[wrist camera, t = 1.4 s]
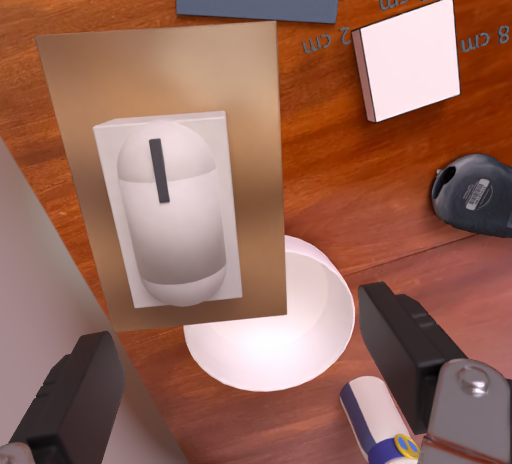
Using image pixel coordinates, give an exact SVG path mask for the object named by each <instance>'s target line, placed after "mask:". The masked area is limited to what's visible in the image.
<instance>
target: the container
mask: <svg viewBox="0 0 512 464" xmlns="http://www.w3.org/2000/svg"><path fill="white" fill-rule="evenodd" d="M420 1H426V0H420ZM405 2H407V0H404V1H403V2H400V3H399V4H404V3H405ZM379 4H380V8H381V10H383V11H384V10H386V9H388V7H389V8H392V7H394V6H397V5H398V1H397V0H394V4H393V5H391V4H390V0H387V7H386V8H384V7H383V2H382V0H379ZM348 28H349V26H347V27H344V28H342V29H339V31H342V30H345V31H344V33H343V35H342V38H341V42H342V44H344V45H347V44H349V43H350V42H351V40H349V41H348V42H345V41H344V36H345V34H346V32H347V30H348ZM502 28H505V33H504V34H502V33H501V29H502ZM508 31H509V27H508V26H502V27H500V28H499V29H498V31H497V34H498V35H499V36H500V37H499V39H498V42H499V43H505V42H507V41H508V38H509V36H508V35H507V33H508ZM351 33H352V38H353V44H354V49H355V55H356V60H357V65H358V71H359V76H360V82H361V87H362V93H363V98H364V104H365V109H366V115H367V120H368V121H369V122H372V123H379V122H382V121H385V120H388V119H390V118H393V117H396V116H399V115H402V114H405V113H408V112H411V111H414V110H417V109H420V108H423V107H426V106H429V105H432V104H435V103H438V102H441V101H444V100H447V99H450V98H453V97H456V96H459V95H461V88H460V75H459V62H458V50H457V37H456V24H455V11H454V0H438V1H435V2H432V3H429V4H426V5H424V6H421V7H418V8H415V9H412V10H409V11H406V12H404V13H401V14H398V15H395V16H392V17H389V18H386V19H384V20H381V21H378V22H375V23H372V24H369V25H366V26H363V27H361V28H358V29H355V30H353V31H351ZM482 35H484V36H485V42H484V43H483V44H480V45H479V46H484V45H486V44H487V43H488V41H489V35H488V34H487V33H481V34H479V37H480V36H482ZM324 36H325V37H327V39H328V44H327V45H326V46H323V48H325V47H328V46H329V45H330V42H331V39H330V36H329V35H328V34H324V35H322V36H320V37H321V38H322V37H324ZM503 36H504V37H505V40H504V41H502V37H503ZM316 40H317V45H318V46H317V48H316V49H314V47H313V43H312V39H310V40H309V42H310V46H311V50H310V51H307V49H306V44H305V41H304V42H302V43H303V47H304V51H305V52H306V53H310V52H311V51H312V50H313V51H317V50H318V48H319V49H321V46H320V42H319V37H316ZM467 41H468V48H467V49H466V50H465V48H464V40H462V41H461V50H462V52H467V51H468V50H469V49H470V50H473V49H475V48H478V35H476V36H474V41H475V45H474V47H472V46H471V38H467Z"/></svg>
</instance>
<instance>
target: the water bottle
mask: <svg viewBox="0 0 512 464" xmlns="http://www.w3.org/2000/svg"><path fill="white" fill-rule="evenodd" d="M340 402H341V404H342V406H343V409H344V411H345V413H346V415H347V418H348V420H349V422H350V425H351V427H352V430H353V432H354V435H355V438H356V440H357V443H358V445H359V448H360V450H361V452H362V454H363V456H364V458H365V459H366V460H367V461H368V463H369V464H417V463H418V458H419V453H420V449H419V447H418V446H417V444H416V443H415V442H414V441H413V440H412V439H411V438H410V435H409V433H408V431H407V429H406V427H405V425H404V423H403V421H402V419H401V417H400V415H399V413H398V411H397V409H396V407H395V405H394V403H393V400H392V398H391V396H390V394H389V392H388V389H387V387H386V385H385V383H384V382H383V381H382V380H381V379H379V378H377V377H373V376H363V377H359V378H356V379H354V380H352V381H350V382H349V383H347V384H346V385H345V386H344V388H343V389H342V391H341V393H340Z"/></svg>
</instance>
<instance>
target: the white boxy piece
mask: <svg viewBox="0 0 512 464" xmlns="http://www.w3.org/2000/svg"><path fill="white" fill-rule="evenodd" d="M93 132H94V137H95V141H96V145H97V149H98V154H99V158H100V162H101V166H102V171H103V175H104V179H105V184H106V188H107V192H108V196H109V201H110V205H111V209H112V214H113V218H114V222H115V226H116V231H117V235H118V239H119V243H120V248H121V252H122V256H123V261H124V265H125V269H126V273H127V278H128V282H129V286H130V290H131V295H132V299H133V303H134V307H135V308H144V307H153V306H163V305H173V306H181V307H184V306H192V305H196V304H199V303H201V302H203V301H213V300H223V299H233V298H241V297H242V284H241V273H240V262H239V251H238V240H237V229H236V219H235V208H234V197H233V186H232V175H231V164H230V154H229V143H228V132H227V121H226V112H225V111H212V112H199V113H185V114H172V115H158V116H145V117H131V118H118V119H113V120H110V121H107V122H105V123H102V124H99V125H96V126H94V127H93Z"/></svg>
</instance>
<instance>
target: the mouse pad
mask: <svg viewBox="0 0 512 464" xmlns="http://www.w3.org/2000/svg"><path fill="white" fill-rule="evenodd" d="M337 6H338V0H176V9H177V15H193V16H210V17H227V18H243V19H260V20H277V21H293V22H310V23H327V24H335V23H336V15H337Z"/></svg>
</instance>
